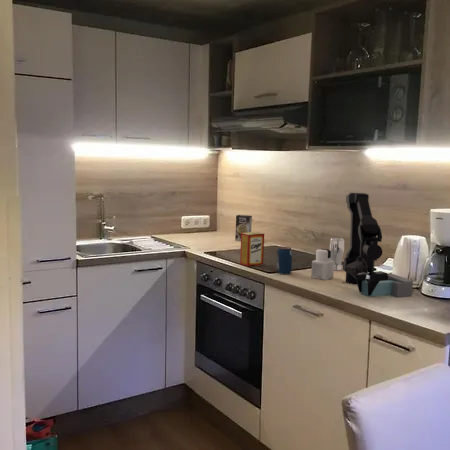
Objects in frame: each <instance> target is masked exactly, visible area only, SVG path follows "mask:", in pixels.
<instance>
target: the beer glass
mask: <svg viewBox="0 0 450 450" xmlns="http://www.w3.org/2000/svg"><path fill="white" fill-rule="evenodd" d="M329 250H330V251H331V259H330V260H332V261H334V272H335V271H337V272H339V271H342V270H343V264H342V263H343V257H344V252H345V239H344V238H340V237H331V238H330V241H329Z"/></svg>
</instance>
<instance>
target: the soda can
mask: <svg viewBox="0 0 450 450" xmlns="http://www.w3.org/2000/svg"><path fill="white" fill-rule="evenodd" d="M292 264H293V251H292V247H290V246H278V249H277V253H276V269H275V270H276V272H277V274H279V273H280V274H279V275H289V274H291V273H292V269H293V267H292V266H293V265H292Z"/></svg>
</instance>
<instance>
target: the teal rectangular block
mask: <svg viewBox="0 0 450 450" xmlns="http://www.w3.org/2000/svg"><path fill="white" fill-rule="evenodd" d="M392 282H396V281H395V280H386V281H379V283H378V284H377V286H376V287H375V289H374V291H373V292H372V294H371V295H370V296H368V282H367V281H366V280H365V281H362V290H361V293H360V294H361V295H364V296H366V297H368V298H370V297H379V296H392V295H391V294H392Z"/></svg>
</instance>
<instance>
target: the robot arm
mask: <svg viewBox="0 0 450 450" xmlns="http://www.w3.org/2000/svg"><path fill="white" fill-rule="evenodd" d="M369 198H370V197H369V194H368V193H366V192H349V193H348V194H347V195H346V196H345V202H346V206H347V209H348V211H349V213H350V237H349V238H350V240H349V247H348V250H347V251H346V253H345V256H344V259H343V261H342V270H343V271H344V272H345V281H342V284H351V285H355V286H356V285H357V287H358V291H359V293H360V294H361V290H362V281H367V282H368V296H370V295H371V294H372V292H373V291H374V289H375V287H376V286H377V284H378V283H379V281H386V280H388V274H389V273H387V272H385V271H382V270H379V271H377V268H376V267H375V261H378V260H379V259H380V258H381V257H382V255H383V248H382V247H381V245H379V242H380V243H381V242H382V240H383V234H382V229H381V227H380V225H379V223H378V221H377V219H376V218H374V217H373V214H372V210H371V206H370V202H369ZM367 276H368V278H367ZM368 296H367V297H368ZM370 297H371V296H370Z"/></svg>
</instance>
